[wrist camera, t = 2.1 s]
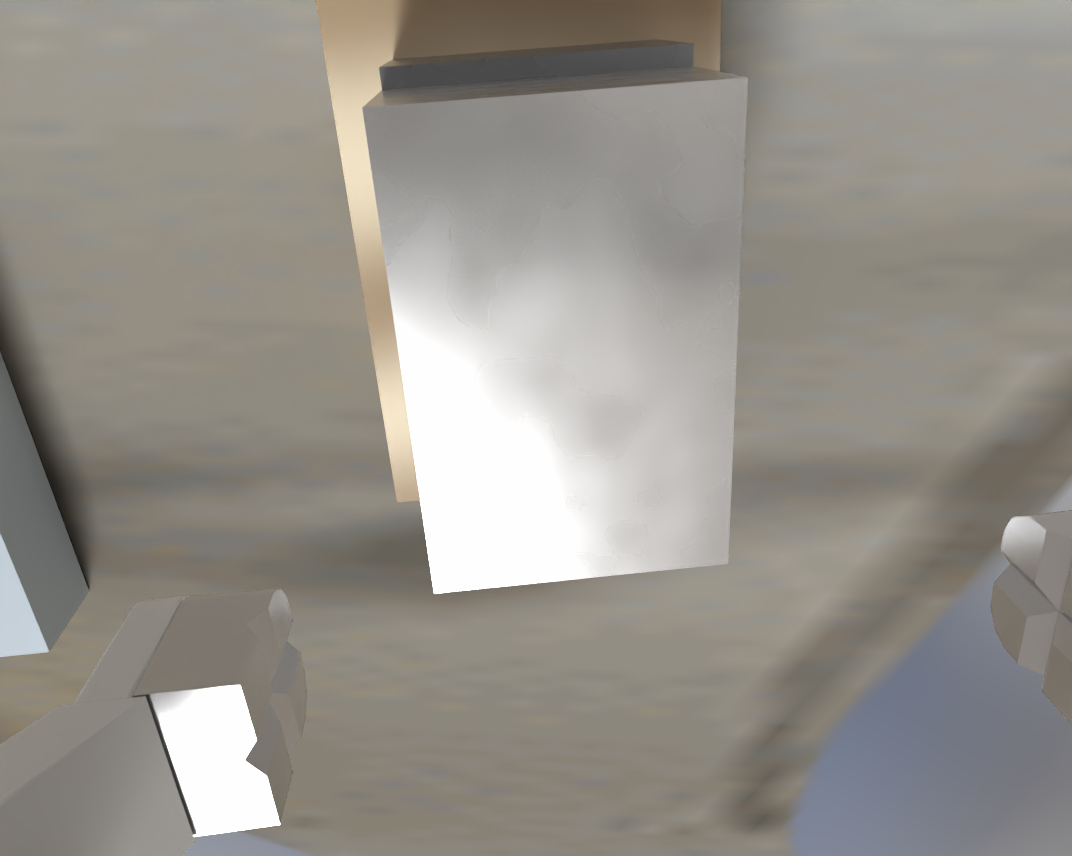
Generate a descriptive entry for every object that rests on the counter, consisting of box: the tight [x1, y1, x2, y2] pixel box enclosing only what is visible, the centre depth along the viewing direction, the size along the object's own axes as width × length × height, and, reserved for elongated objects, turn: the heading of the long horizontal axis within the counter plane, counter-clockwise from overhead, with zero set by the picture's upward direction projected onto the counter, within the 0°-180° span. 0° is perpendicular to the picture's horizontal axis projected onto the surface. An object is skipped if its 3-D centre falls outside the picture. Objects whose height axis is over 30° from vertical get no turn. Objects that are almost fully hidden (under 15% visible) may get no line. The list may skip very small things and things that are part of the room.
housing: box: [362, 39, 748, 594], centre depth 18 cm, size 10×6×7 cm, turn 4°
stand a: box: [316, 0, 722, 502], centre depth 23 cm, size 13×9×3 cm
